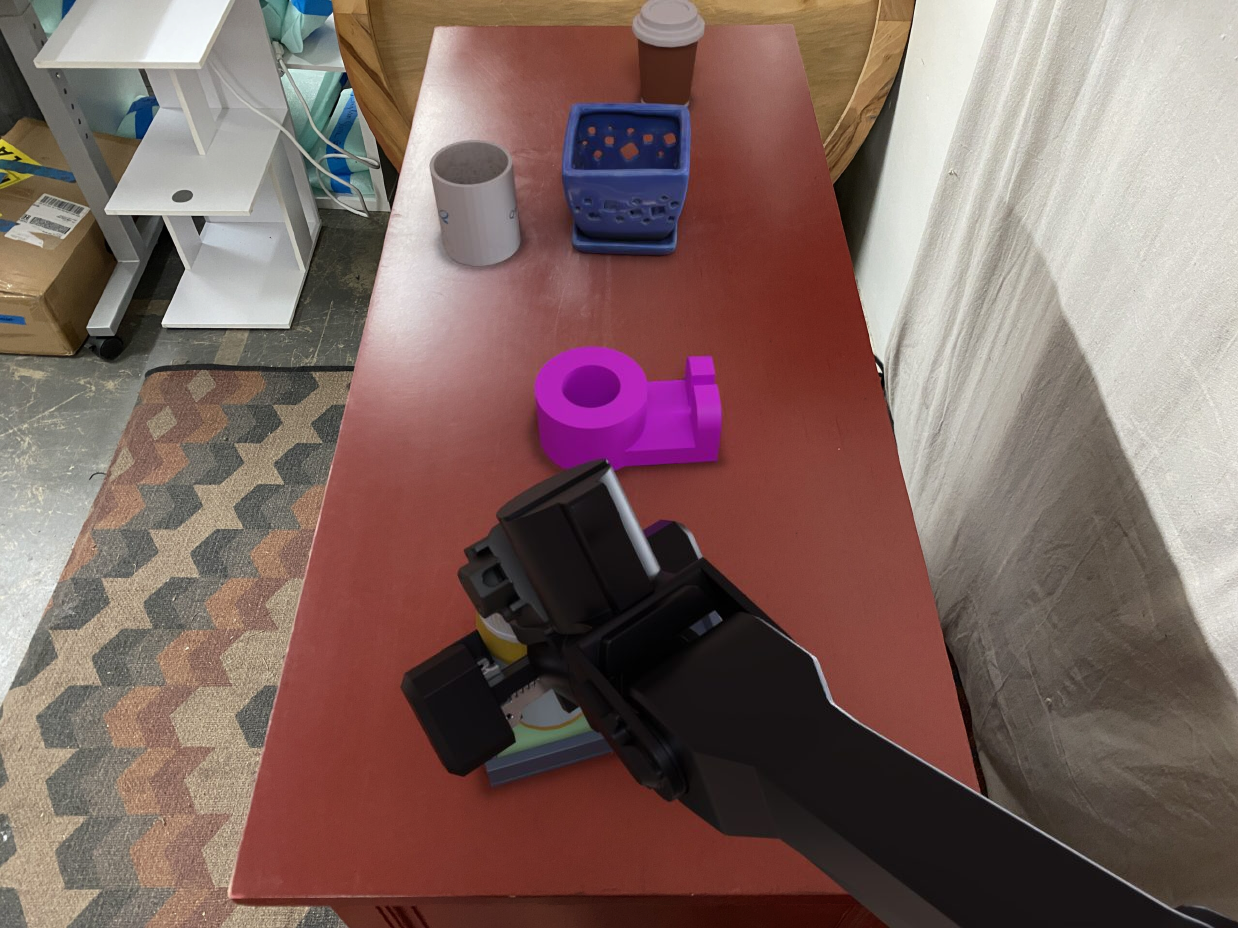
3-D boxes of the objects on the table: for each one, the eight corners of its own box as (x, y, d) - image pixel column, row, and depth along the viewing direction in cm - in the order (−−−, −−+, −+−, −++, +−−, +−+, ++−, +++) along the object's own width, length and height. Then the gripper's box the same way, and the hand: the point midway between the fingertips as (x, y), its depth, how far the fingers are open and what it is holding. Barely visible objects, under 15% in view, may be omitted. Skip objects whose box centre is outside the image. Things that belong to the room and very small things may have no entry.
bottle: (481, 685, 66) (438, 569, 54) (557, 626, 69) (531, 504, 57) (541, 754, 62) (508, 646, 51) (618, 689, 65) (604, 573, 53)
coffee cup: (713, 99, 122) (721, 8, 113) (670, 127, 118) (674, 35, 108) (660, 76, 126) (664, -14, 116) (616, 102, 121) (616, 11, 112)
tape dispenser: (540, 477, 82) (535, 431, 77) (538, 396, 88) (533, 349, 83) (718, 467, 83) (724, 421, 78) (703, 388, 89) (708, 340, 84)
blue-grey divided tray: (748, 712, 68) (753, 695, 66) (491, 787, 64) (486, 772, 62) (701, 598, 74) (704, 579, 72) (464, 661, 70) (459, 643, 68)
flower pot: (685, 268, 100) (692, 173, 91) (564, 266, 100) (558, 170, 91) (684, 196, 108) (690, 102, 99) (572, 194, 109) (568, 100, 99)
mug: (514, 267, 100) (505, 189, 92) (436, 264, 100) (421, 185, 93) (529, 200, 108) (522, 122, 100) (457, 197, 108) (445, 119, 100)
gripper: (700, 438, 48) (588, 446, 62) (378, 622, 41) (334, 583, 55) (782, 620, 50) (655, 587, 64) (488, 825, 43) (418, 737, 57)
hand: (523, 618), depth 60 cm, fingers closed on bottle, 7 cm apart
